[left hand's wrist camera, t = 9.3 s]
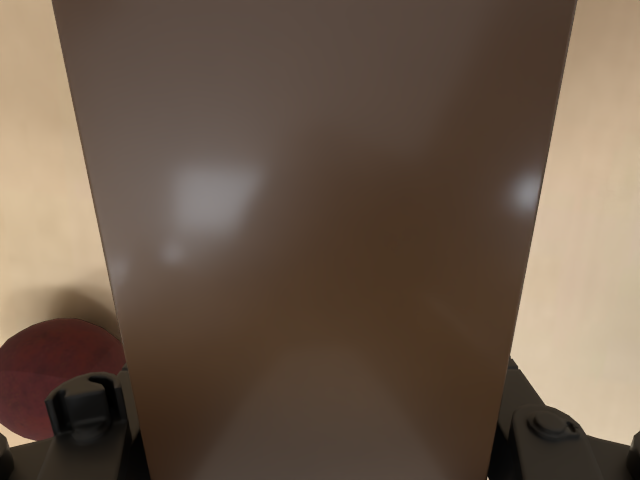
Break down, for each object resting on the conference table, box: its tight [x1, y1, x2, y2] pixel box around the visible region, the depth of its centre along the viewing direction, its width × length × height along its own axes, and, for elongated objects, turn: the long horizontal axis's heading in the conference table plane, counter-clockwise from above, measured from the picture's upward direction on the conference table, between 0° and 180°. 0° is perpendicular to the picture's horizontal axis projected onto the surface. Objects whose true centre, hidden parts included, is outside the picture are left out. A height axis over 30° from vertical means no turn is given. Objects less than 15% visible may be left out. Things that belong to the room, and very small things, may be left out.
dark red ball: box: [0, 318, 126, 441], centre depth 26 cm, size 7×8×7 cm
